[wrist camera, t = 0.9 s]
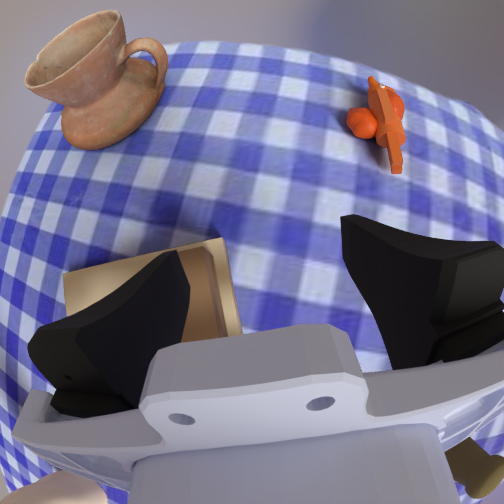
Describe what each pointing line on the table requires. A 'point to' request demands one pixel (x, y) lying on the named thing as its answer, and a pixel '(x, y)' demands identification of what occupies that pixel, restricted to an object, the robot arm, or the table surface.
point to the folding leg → (202, 297)
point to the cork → (475, 468)
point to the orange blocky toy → (381, 121)
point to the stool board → (118, 272)
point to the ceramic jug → (99, 80)
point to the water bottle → (58, 491)
